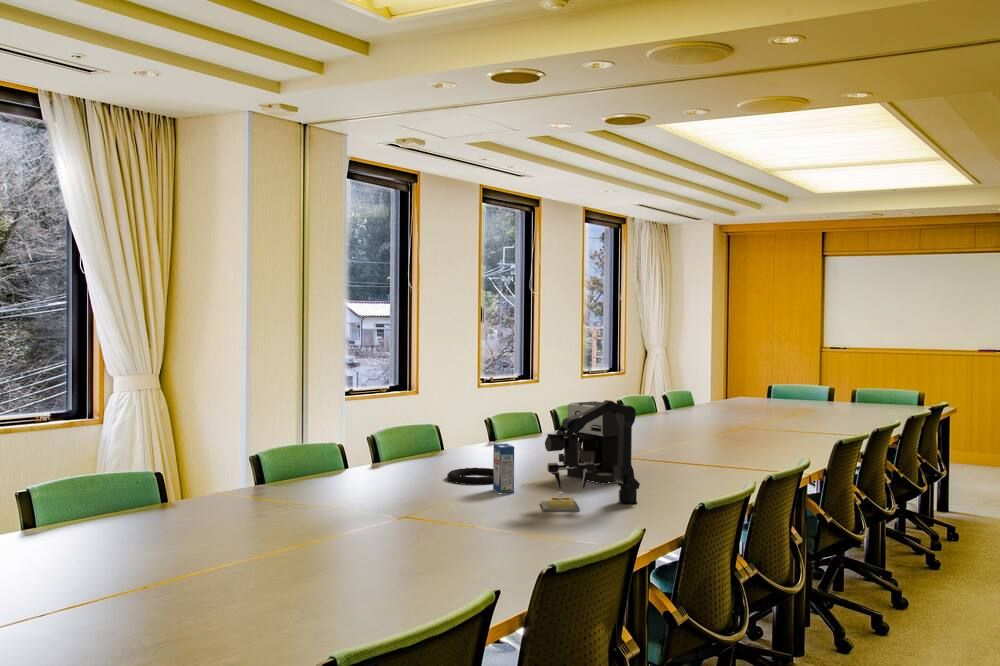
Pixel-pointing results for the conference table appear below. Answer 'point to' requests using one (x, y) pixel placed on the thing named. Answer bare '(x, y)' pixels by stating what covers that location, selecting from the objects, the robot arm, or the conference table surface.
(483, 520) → the conference table surface
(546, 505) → the keeper plate
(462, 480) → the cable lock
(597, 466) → the coffee maker
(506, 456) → the milk carton
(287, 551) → the conference table surface
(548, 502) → the yellow rectangular frame
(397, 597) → the conference table surface
